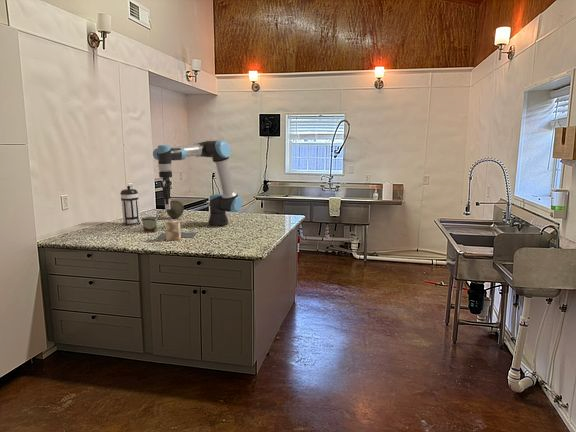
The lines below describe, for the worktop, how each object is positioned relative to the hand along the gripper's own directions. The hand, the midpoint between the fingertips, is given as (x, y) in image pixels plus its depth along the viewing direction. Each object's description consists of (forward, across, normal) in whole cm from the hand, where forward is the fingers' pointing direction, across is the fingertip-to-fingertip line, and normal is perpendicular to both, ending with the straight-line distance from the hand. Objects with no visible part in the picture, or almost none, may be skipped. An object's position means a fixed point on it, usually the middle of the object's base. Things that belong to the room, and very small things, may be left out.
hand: (167, 209), depth 248 cm
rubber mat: (+22, -21, 0) cm, 30 cm away
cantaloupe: (+22, -85, -14) cm, 89 cm away
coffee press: (+22, -65, -43) cm, 81 cm away
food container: (+22, -38, -21) cm, 49 cm away
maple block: (+22, -10, 0) cm, 24 cm away
